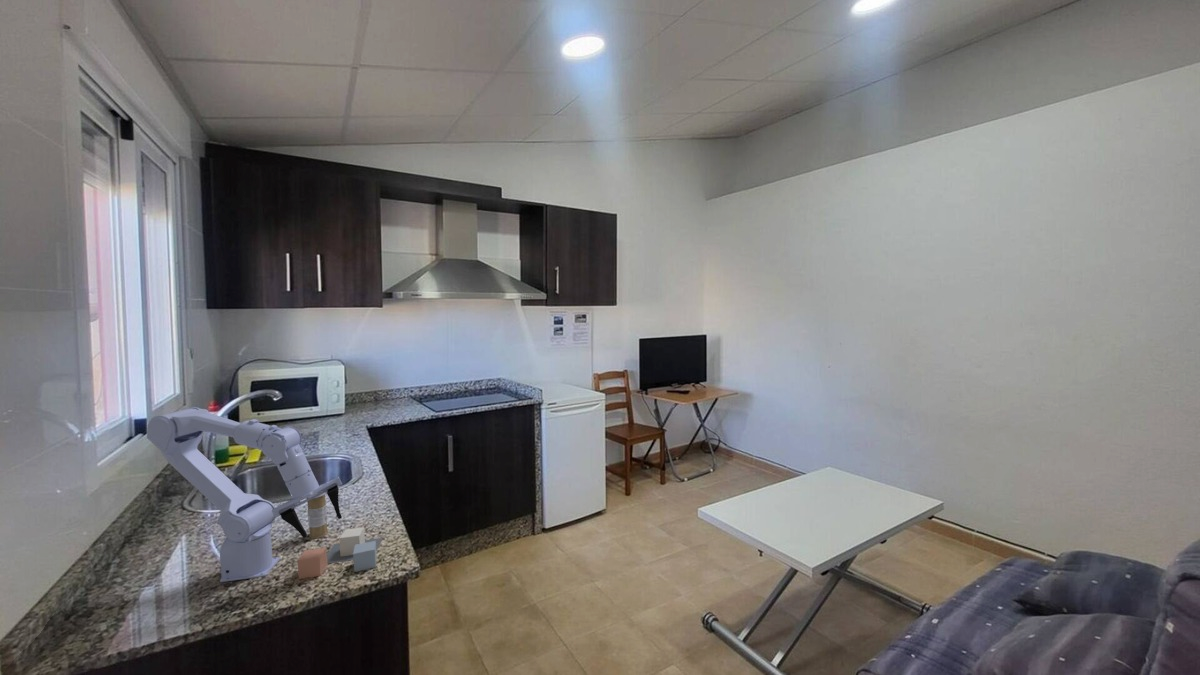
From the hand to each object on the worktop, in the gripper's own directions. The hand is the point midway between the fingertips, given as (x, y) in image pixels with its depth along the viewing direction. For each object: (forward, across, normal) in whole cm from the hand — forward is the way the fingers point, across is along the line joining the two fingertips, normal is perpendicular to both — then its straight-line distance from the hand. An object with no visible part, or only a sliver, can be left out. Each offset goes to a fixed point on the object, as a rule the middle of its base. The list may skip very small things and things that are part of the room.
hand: (323, 527), depth 111 cm
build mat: (+11, +3, +8) cm, 14 cm away
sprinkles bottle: (+5, -3, +23) cm, 24 cm away
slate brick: (+13, +4, -1) cm, 14 cm away
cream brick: (+10, +3, +8) cm, 13 cm away
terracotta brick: (+9, -6, +3) cm, 11 cm away
